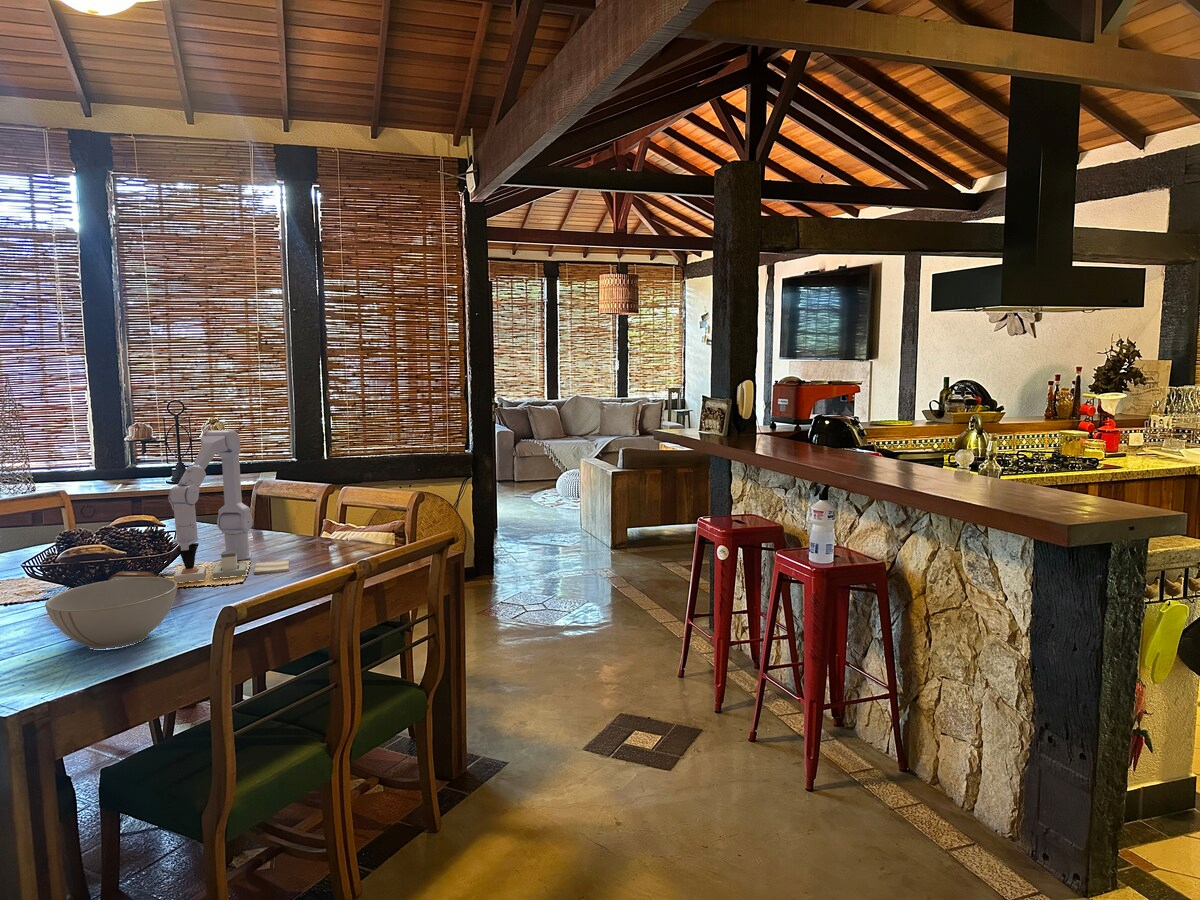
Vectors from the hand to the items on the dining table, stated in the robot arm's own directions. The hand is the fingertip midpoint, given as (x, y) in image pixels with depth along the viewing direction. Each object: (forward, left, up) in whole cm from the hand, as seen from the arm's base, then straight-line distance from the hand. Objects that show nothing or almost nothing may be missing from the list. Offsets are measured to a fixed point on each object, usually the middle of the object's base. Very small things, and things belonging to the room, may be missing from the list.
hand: (189, 568), depth 242 cm
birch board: (-3, +23, -3) cm, 23 cm away
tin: (+18, -12, -4) cm, 22 cm away
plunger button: (0, 0, -3) cm, 3 cm away
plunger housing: (0, 0, -3) cm, 3 cm away
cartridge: (-1, +11, -3) cm, 12 cm away
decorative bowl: (+53, -10, -4) cm, 54 cm away
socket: (-1, +11, -3) cm, 12 cm away
